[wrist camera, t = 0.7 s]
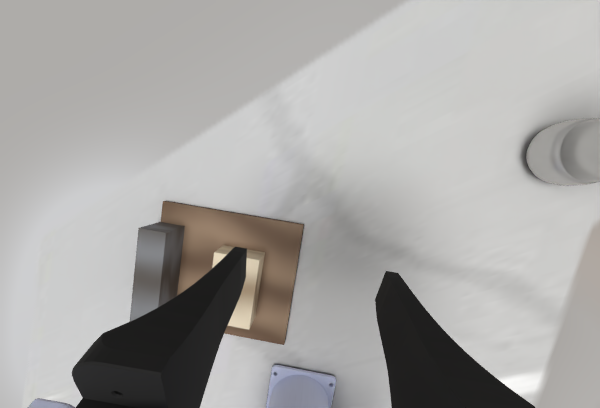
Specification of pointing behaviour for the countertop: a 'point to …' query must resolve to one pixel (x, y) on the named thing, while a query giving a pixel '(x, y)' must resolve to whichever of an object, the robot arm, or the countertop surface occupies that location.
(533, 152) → the plastic bottle
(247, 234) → the board
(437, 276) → the countertop surface
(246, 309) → the cream wooden block
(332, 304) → the countertop surface
